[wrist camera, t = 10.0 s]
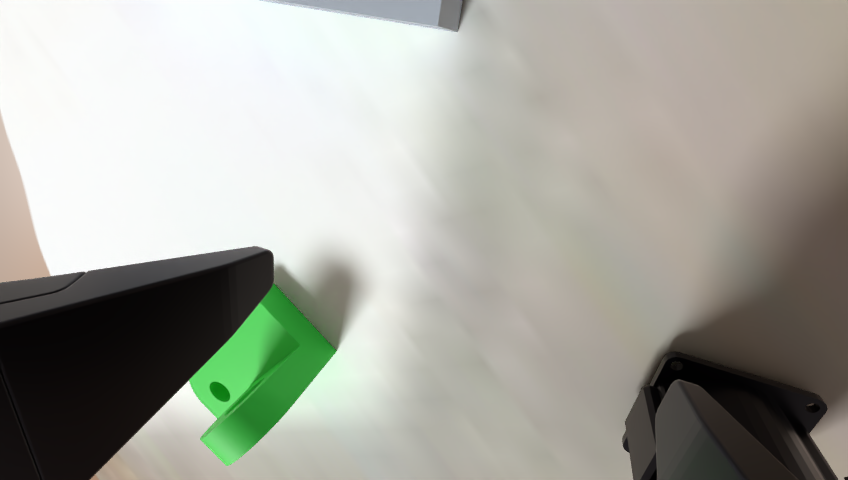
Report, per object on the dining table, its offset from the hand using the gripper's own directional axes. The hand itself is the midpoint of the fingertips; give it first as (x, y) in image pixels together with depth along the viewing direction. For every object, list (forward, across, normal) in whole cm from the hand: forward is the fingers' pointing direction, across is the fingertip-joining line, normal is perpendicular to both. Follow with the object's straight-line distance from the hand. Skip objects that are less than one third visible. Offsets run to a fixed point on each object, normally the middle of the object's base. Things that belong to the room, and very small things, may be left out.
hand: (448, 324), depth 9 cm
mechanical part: (+12, +14, +17) cm, 25 cm away
